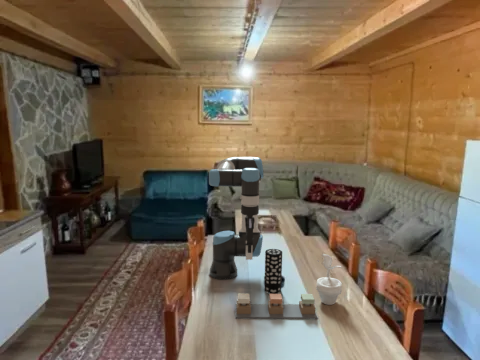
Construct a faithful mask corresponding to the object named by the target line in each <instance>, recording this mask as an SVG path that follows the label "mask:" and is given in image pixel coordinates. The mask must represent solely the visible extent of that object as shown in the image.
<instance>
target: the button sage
mask: <svg viewBox="0 0 480 360" xmlns="http://www.w3.org/2000/svg"><path fill="white" fill-rule="evenodd" d="M300 301H302V303H303V304H305V306H310V304H314V305H315V297H314V294H312V293H300Z"/></svg>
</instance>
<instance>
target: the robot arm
mask: <svg viewBox="0 0 480 360" xmlns="http://www.w3.org/2000/svg"><path fill="white" fill-rule="evenodd" d="M263 166H264V165H263V161H262V158H261V157H256V156H231V157H227V158H224V159H222V160H221V161H219V162H218V164H217V166H216V168H215V169H210V170H209V172H208V185H210V186H212V187H216V188H217V187H238V188H239V187H240V188H241V195H240V196H239V199H240V200H241V201H240V203H241V205H240V213H241V228H240V229H239V230H238V234H236V233H235V231H232V230H223V231H219V232H216V233H214V235H213V238H212V262H211V265H210V268H209V276H210V277H212V278H213V279H216V280H231V279H233V278H236V277H237V276H238V267H237V265H236V262H235V257H240V258H241V257H243V258H244V257H245V260H249V261H250V260H253V258H255V257H256V258H257V257H259V256H261V253H262V248H263V247H262V246H263V238H264V236H263V235H262V234H261V231H260V230H259V228H258V214H259V212H260V211H259V210H260V207H259V206H260V205H259V204H260V183H261V182H262V180H263V179H264V178H265V177H264V176H265V175H264V167H263Z"/></svg>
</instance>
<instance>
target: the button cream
mask: <svg viewBox="0 0 480 360" xmlns="http://www.w3.org/2000/svg"><path fill="white" fill-rule="evenodd" d="M237 301H238V303H242V306H246V303H250V304H251V298H250V293H237Z"/></svg>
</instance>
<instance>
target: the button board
mask: <svg viewBox="0 0 480 360" xmlns="http://www.w3.org/2000/svg"><path fill="white" fill-rule="evenodd" d="M298 303H299V304H298ZM298 303H297V304H295V303H291V304H289V303H288V304H287V303H286V304H285V303H282V304H278V306H273V304H271V303H270V300H268V301H267V303H251V302H250V303H246V306H242V303H238V300H236V304H235V319H238V320H239V319H243V320H244V319H245V320H246V319H247V320H250V319H251V320H318V319H319V318H318V315H317V313H316V306H315V303H314V304H310V306H305V304H303V303H302V300H299V302H298Z"/></svg>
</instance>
